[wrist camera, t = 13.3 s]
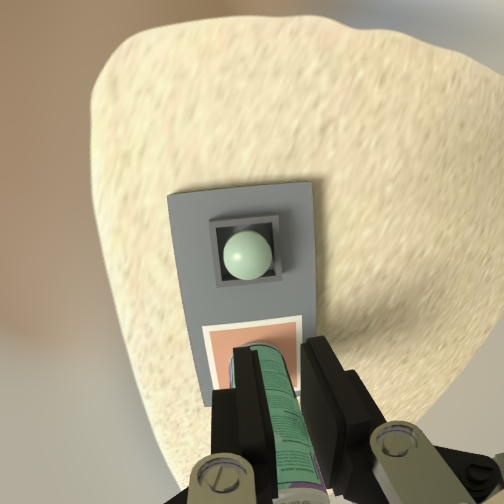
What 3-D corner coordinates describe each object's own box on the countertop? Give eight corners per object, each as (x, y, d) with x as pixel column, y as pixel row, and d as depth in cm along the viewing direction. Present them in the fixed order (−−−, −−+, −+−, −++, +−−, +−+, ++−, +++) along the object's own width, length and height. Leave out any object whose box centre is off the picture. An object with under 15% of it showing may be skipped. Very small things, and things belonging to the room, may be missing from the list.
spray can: (221, 378, 30) (227, 567, 10) (239, 334, 28) (263, 540, 9) (271, 389, 30) (313, 565, 11) (292, 347, 29) (362, 533, 10)
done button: (270, 270, 26) (273, 277, 24) (226, 275, 25) (226, 282, 24) (267, 227, 25) (270, 231, 23) (221, 231, 25) (221, 236, 23)
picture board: (311, 385, 33) (318, 402, 30) (204, 398, 32) (204, 416, 29) (307, 181, 27) (317, 183, 24) (169, 194, 26) (163, 197, 23)
